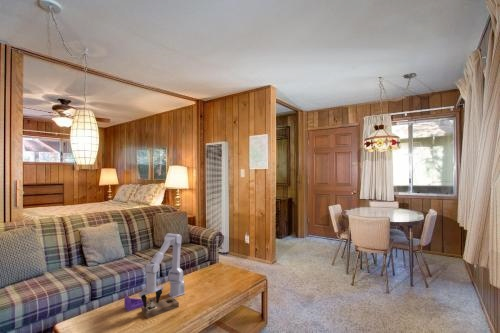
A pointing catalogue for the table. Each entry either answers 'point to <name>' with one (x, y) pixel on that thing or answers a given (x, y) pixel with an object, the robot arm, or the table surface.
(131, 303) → the bracket
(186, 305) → the table surface
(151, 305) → the pin
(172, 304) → the board
